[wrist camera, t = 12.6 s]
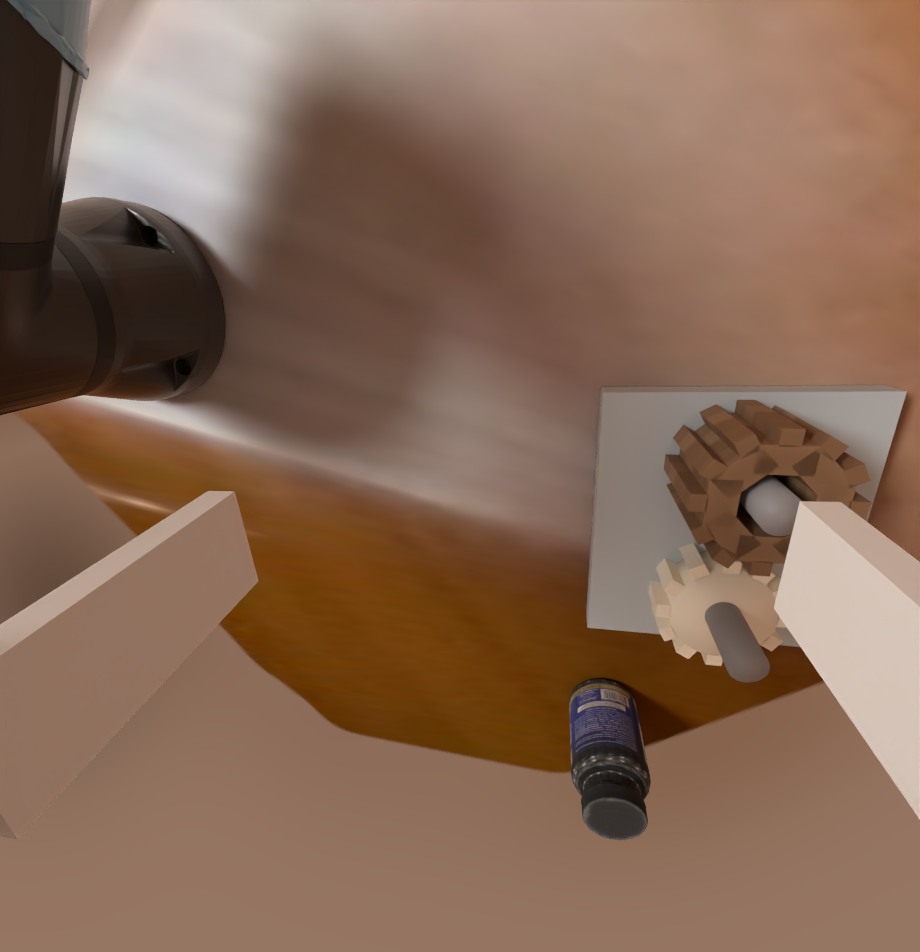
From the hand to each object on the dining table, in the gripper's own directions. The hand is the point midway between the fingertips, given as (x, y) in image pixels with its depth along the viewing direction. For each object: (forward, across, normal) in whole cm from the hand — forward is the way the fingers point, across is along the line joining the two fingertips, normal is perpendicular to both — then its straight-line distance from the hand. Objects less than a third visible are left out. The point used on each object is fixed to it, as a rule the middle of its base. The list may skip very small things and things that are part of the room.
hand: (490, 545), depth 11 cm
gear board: (+25, +14, -12) cm, 31 cm away
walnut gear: (+23, +14, -7) cm, 28 cm away
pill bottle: (+25, +7, -32) cm, 41 cm away
